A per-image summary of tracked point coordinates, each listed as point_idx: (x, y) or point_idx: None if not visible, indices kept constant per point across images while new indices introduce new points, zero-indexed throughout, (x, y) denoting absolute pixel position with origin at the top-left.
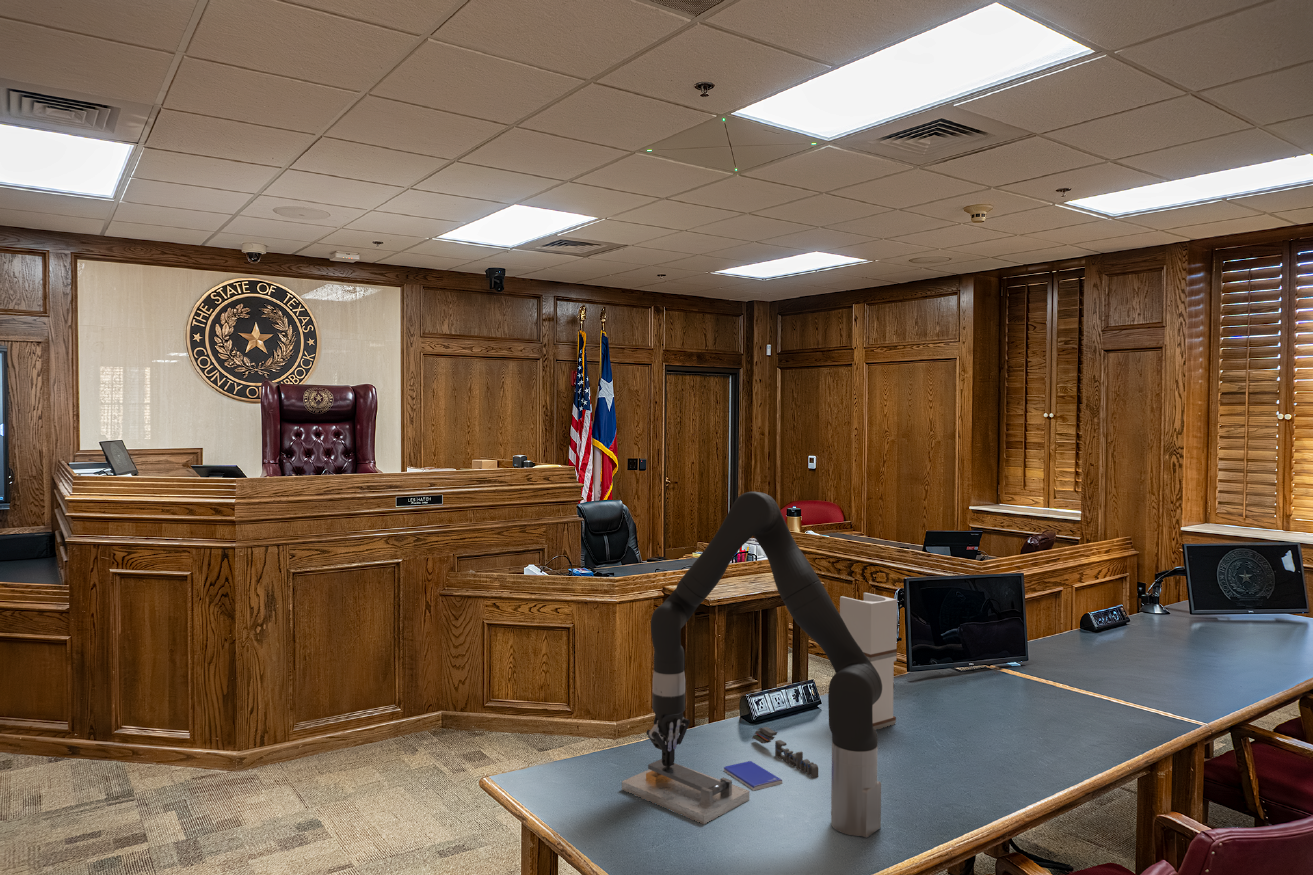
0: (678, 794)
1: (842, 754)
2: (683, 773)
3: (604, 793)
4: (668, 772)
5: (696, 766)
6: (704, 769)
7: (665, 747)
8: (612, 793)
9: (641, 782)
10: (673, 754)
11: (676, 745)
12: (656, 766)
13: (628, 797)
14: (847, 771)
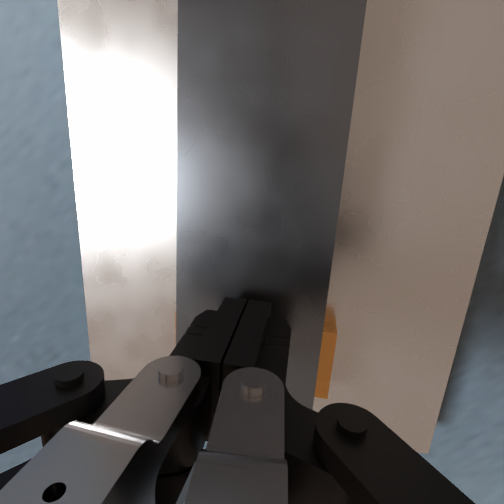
0: (397, 117)
1: None
2: (262, 178)
3: (491, 459)
4: (321, 270)
5: (11, 294)
6: (5, 250)
7: (348, 424)
8: (471, 433)
9: (380, 374)
10: (209, 334)
11: (140, 371)
12: (296, 379)
13: (469, 360)
14: None
